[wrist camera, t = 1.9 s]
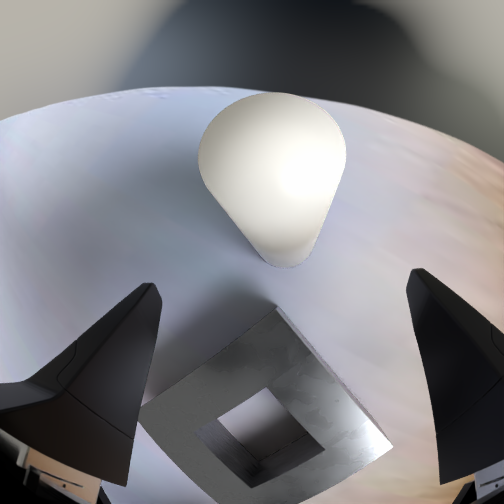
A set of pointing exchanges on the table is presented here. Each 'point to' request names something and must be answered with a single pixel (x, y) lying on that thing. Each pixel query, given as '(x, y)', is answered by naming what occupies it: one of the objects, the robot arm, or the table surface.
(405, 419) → the table surface
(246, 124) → the peg
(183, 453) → the collar
